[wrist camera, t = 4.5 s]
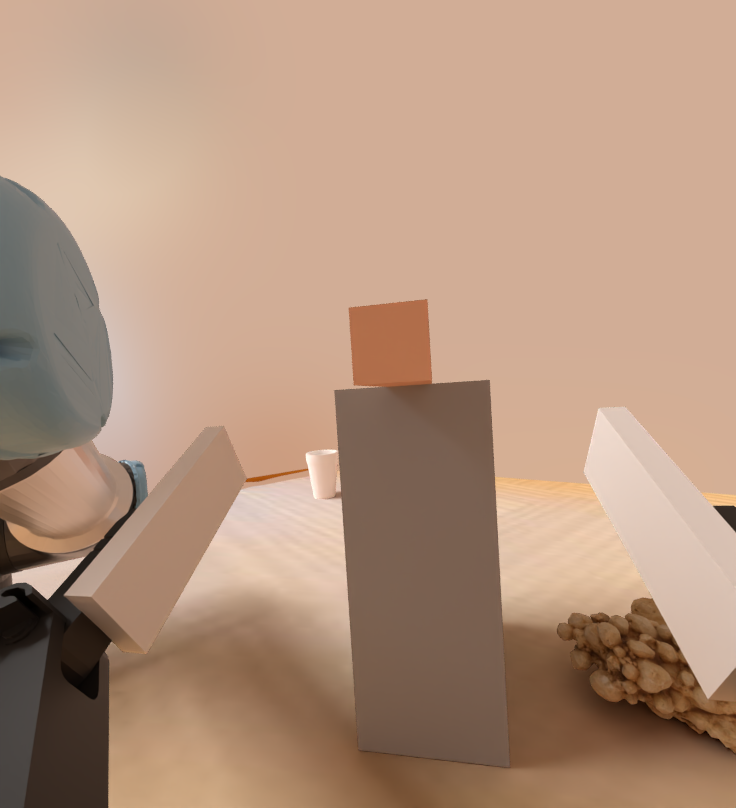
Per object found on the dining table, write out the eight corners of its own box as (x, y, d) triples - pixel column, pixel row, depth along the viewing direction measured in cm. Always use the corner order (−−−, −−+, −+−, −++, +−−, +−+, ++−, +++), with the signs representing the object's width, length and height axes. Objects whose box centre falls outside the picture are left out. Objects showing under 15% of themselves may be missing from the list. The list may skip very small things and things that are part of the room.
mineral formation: (821, 789, 25) (582, 739, 28) (696, 673, 38) (542, 648, 41) (810, 665, 26) (579, 631, 29) (691, 593, 39) (541, 575, 42)
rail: (432, 379, 16) (427, 299, 15) (353, 385, 16) (348, 307, 16) (431, 385, 43) (429, 356, 43) (402, 387, 44) (400, 359, 44)
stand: (510, 767, 28) (489, 380, 27) (358, 750, 30) (334, 390, 29) (479, 619, 45) (466, 383, 44) (385, 615, 47) (371, 389, 46)
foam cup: (316, 491, 112) (313, 449, 111) (344, 491, 109) (341, 449, 109) (303, 500, 102) (300, 455, 102) (333, 501, 100) (330, 455, 100)
